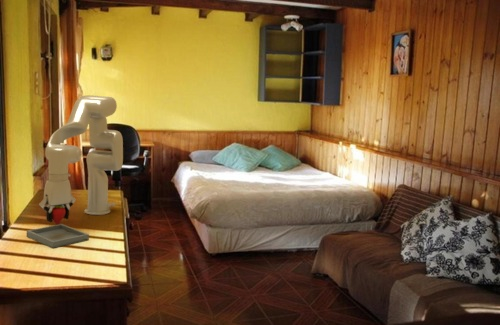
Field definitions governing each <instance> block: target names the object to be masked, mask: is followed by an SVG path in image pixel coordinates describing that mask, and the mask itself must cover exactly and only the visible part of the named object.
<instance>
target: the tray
mask: <svg viewBox="0 0 500 325" xmlns="http://www.w3.org/2000/svg"><path fill="white" fill-rule="evenodd" d="M26 237H27V238H28V239H31V240H33V241H35V242H38V243H40V244H42V245H45V246H47V247H49V248H51V249H56V248H61V247H64V246H70V245H74V244H78V243H82V242H86V241H89V240H90V234H89V233H86V232H84V231H82V230H79V229H76V228H74V227H71V226H69V225H66V224H63V223H59V224H58V225H57V224H55V225H49V226H44V227H43V226H42V227H38V228H34V229H29V230H26Z"/></svg>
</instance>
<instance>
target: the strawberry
mask: <svg viewBox="0 0 500 325" xmlns="http://www.w3.org/2000/svg"><path fill="white" fill-rule="evenodd" d="M64 207H65V206H61V205H56V206H54V207H53V209H52V211H51V212H52V213H53V221H52V222H54V223H55V225H59V224H61V222H62V221H63V219H65V218H64V216H65V208H64Z"/></svg>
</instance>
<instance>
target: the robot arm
mask: <svg viewBox="0 0 500 325" xmlns="http://www.w3.org/2000/svg"><path fill="white" fill-rule="evenodd" d="M117 105H118V104H117V101H116V99H115V98H114V97H112V96H102V95H101V96H100V95H90V94H89V95H82V96H80V98H77V100H75V103H74V105H73V106H72V109H71V112H70V114H69V117H68V120H67V122H66V124H64V125H62V126H61V127H59V128H58V129H57V130H55V131H54V132H53V133H52V134H51V135H50V137H49V140H48V142H47V145H46V147H45V152H44V153H45V154H44V155H45V158H46V159H47V161H48V171H47V172H48V180H46V181H45V185H44V190H43V199H42V200H41V201H40V202H39V203H38V205H39V206H40V208H42V209H43V210H44V211H45V212H46V213H45V214H46V221H47V222H49V223H53V222H54V221H53V213H52V212H51V211H52V209H53V207H54V206H56V205H62V204H63V206H65V207H64V208H65V216H64V218H63V219H66V220H68V219H69V216H70V210H71V207H72V206H73V205H74V203H75V202H76V200H77V199H76V198H75V197H74V195H72V187H71V183H70V180H69V178H70V177H71V173H70V172H69V164H75V163H78V162H80V160H81V158H82V155H83V152H82V150H81V148H80V147H79V146H77V145H73V144H72V145H71V144H61V143H63V142H64V141H66V140H68V139H71V138H74V137H77V136H79V135H83V134H84V133H86V132H87V130H88V134H89V136H88V139H89V144H90V146H91V147H92V148H94V149H98V150H91V151H89V152H88V153H87V155H86V165H87V174H88V176H87V180H88V181H87V207H86V208H85V209H84V214H87V215H90V216H91V215H92V216H102V215H107V214H109V213H111V208H113V207H115V206H116V202H108V194H109V190H108V188H109V178H108V175H107V173H106V172H105V171H115V172H117V171H120V170H121V169H122V167H123V162H124V147H123V145H124V142H123V141H124V139H123V135H122V133H121V132H120V131H118V130H115V129H108V121H107V120H108V119H107V117H110V116H113V115H114V114H115V112H116V111H117ZM99 149H102V150H99ZM107 150H108V151H107ZM109 150H111V151H109Z"/></svg>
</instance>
